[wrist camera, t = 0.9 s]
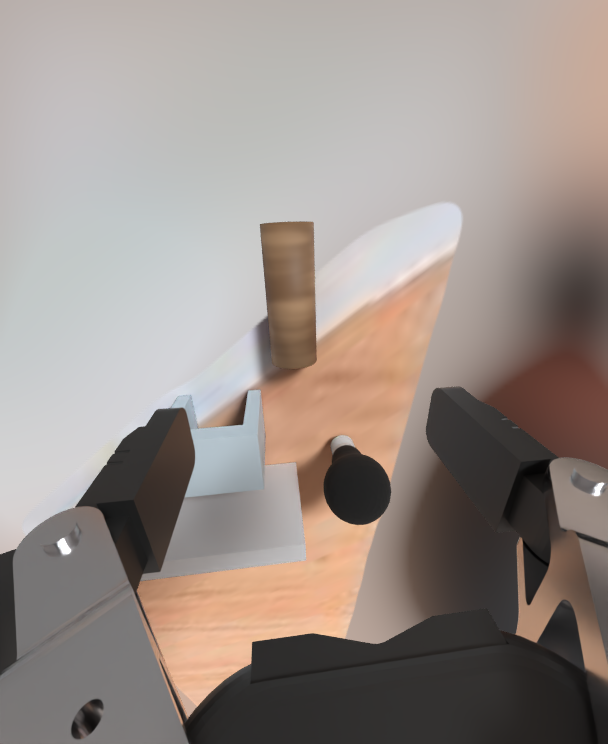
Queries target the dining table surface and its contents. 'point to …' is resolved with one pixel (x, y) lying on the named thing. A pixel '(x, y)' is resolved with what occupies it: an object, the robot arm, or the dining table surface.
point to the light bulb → (355, 484)
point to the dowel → (290, 292)
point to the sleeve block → (227, 451)
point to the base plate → (238, 528)
